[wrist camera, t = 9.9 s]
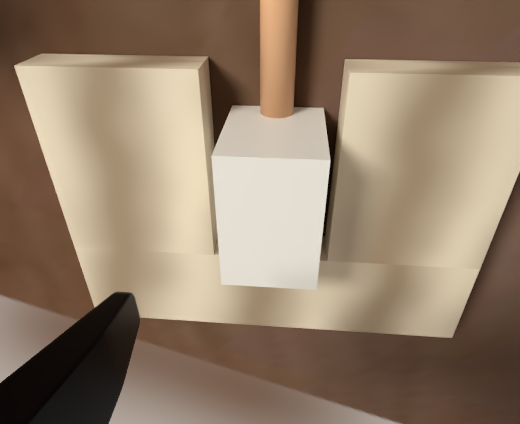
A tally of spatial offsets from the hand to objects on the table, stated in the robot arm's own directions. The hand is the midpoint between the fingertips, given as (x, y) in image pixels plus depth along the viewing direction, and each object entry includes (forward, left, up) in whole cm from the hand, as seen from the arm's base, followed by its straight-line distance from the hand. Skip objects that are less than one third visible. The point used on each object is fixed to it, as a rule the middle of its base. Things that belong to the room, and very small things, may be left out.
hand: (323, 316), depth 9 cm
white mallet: (+2, -2, -11) cm, 11 cm away
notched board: (+2, +4, -11) cm, 12 cm away
